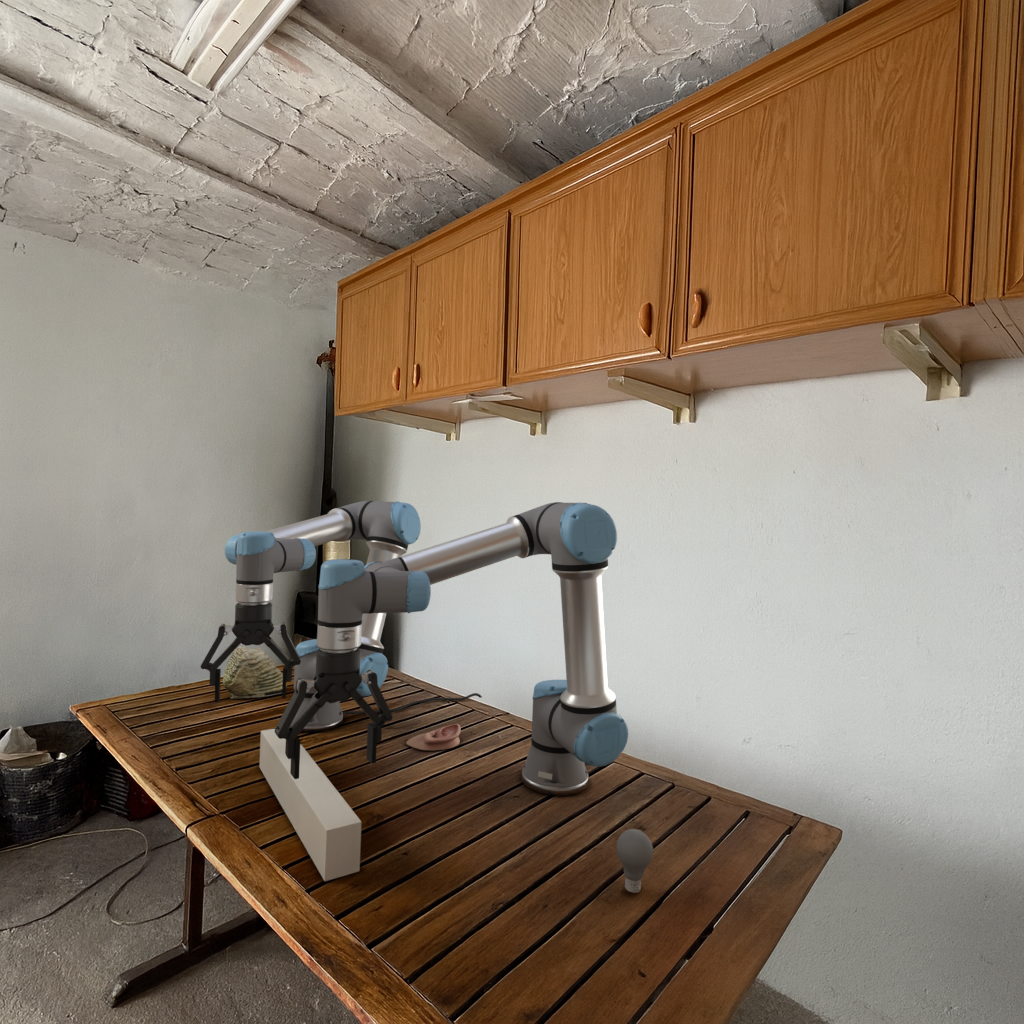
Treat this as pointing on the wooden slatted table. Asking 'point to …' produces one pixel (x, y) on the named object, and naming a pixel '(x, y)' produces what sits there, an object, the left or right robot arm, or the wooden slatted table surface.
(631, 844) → the light bulb
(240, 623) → the left robot arm
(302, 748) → the post
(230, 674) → the fossil
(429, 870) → the wooden slatted table surface
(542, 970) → the wooden slatted table surface
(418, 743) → the anatomical model
